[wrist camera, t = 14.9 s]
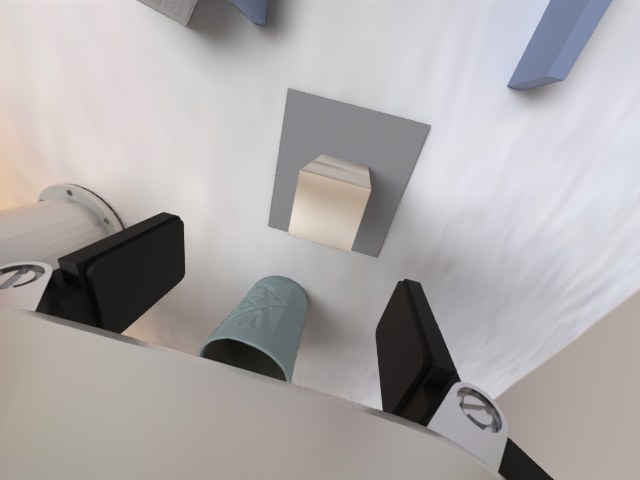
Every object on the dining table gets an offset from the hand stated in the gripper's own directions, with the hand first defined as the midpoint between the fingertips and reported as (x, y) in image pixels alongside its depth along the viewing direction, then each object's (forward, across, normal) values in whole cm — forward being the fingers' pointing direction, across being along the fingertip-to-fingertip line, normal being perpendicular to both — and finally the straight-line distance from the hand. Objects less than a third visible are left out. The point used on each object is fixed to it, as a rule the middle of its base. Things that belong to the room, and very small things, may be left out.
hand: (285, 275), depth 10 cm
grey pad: (+18, -1, 0) cm, 19 cm away
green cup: (+19, +3, +19) cm, 27 cm away
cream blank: (+18, -1, 0) cm, 18 cm away
